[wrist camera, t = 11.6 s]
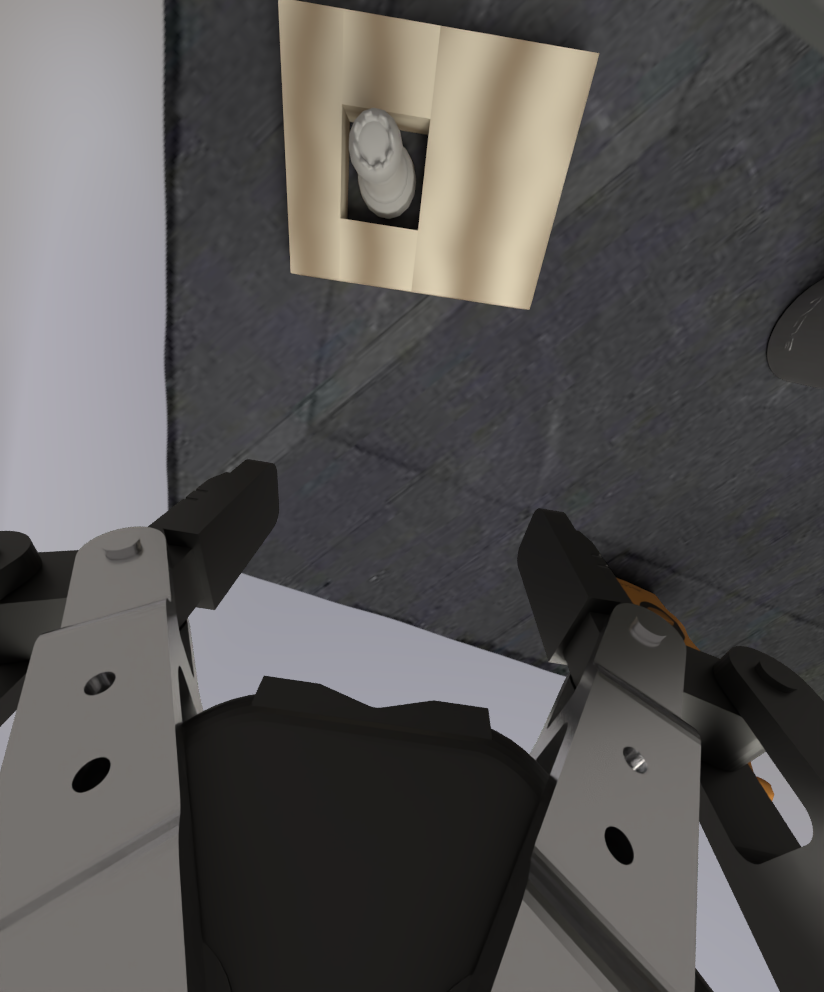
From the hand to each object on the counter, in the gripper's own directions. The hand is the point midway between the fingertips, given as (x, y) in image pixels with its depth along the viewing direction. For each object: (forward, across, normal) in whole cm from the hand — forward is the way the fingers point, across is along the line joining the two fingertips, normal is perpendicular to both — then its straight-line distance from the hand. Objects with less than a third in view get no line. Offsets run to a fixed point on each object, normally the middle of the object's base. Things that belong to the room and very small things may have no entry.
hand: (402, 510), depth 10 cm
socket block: (+26, +2, -13) cm, 29 cm away
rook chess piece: (+26, +5, -13) cm, 30 cm away
